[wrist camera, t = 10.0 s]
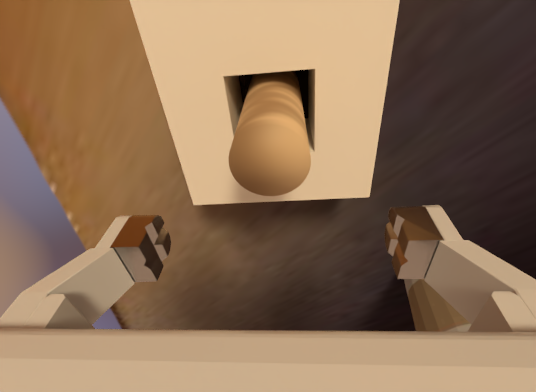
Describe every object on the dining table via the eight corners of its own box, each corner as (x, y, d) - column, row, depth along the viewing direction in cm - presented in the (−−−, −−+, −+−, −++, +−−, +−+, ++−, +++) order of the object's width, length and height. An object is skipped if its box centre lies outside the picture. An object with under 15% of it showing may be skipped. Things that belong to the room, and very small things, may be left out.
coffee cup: (466, 291, 39) (548, 431, 27) (379, 293, 40) (421, 429, 28) (499, 230, 32) (628, 381, 20) (393, 234, 33) (455, 380, 21)
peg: (298, 58, 22) (310, 121, 13) (299, 109, 25) (310, 194, 15) (247, 63, 23) (221, 127, 13) (253, 112, 25) (235, 198, 15)
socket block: (373, -30, 19) (404, -32, 14) (354, 158, 27) (369, 197, 22) (165, -7, 20) (129, -2, 15) (208, 166, 28) (193, 205, 24)
